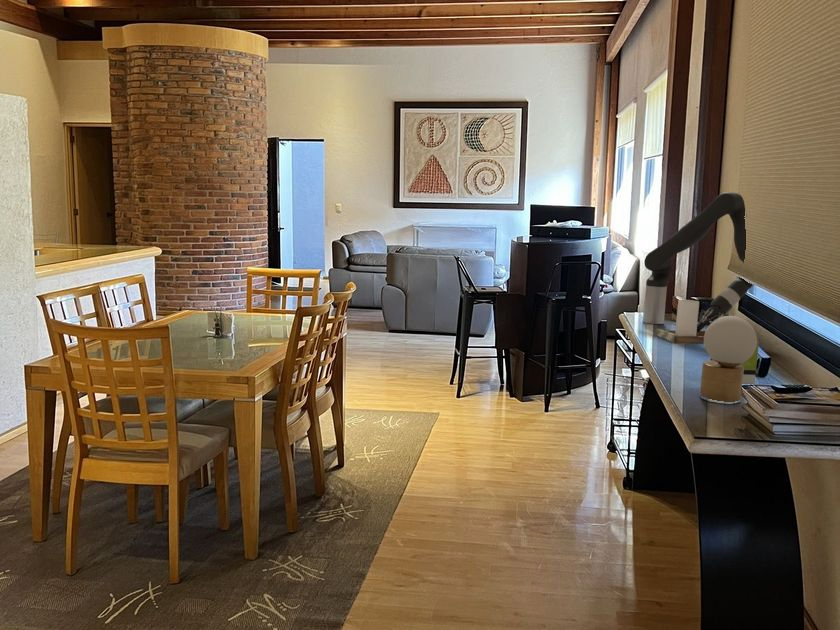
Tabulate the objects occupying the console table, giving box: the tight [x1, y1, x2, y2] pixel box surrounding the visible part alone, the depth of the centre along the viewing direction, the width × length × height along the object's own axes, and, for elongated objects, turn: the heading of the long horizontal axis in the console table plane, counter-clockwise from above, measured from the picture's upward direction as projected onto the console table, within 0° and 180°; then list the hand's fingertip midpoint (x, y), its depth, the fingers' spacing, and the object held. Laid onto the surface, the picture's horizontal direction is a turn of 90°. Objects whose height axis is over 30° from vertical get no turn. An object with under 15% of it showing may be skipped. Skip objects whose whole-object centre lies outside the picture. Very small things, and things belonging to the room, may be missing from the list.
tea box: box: [709, 340, 760, 385], centre depth 256 cm, size 15×10×15 cm
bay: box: [656, 328, 707, 344], centre depth 328 cm, size 15×24×3 cm, turn 101°
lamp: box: [699, 315, 758, 402], centre depth 227 cm, size 15×14×25 cm
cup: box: [675, 299, 700, 336], centre depth 326 cm, size 8×8×16 cm
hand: (696, 330), depth 328 cm, fingers closed
